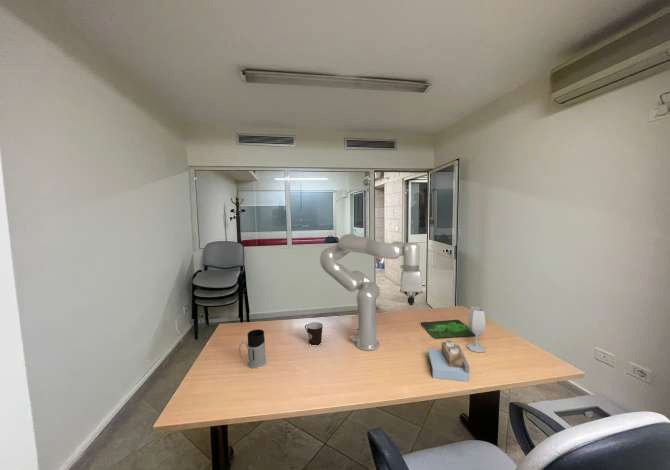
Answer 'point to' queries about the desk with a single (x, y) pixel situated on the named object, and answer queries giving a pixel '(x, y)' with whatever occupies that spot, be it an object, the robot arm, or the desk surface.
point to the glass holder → (255, 348)
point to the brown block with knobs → (452, 354)
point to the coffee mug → (314, 332)
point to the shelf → (447, 367)
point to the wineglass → (476, 327)
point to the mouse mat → (447, 329)
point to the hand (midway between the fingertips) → (410, 304)
